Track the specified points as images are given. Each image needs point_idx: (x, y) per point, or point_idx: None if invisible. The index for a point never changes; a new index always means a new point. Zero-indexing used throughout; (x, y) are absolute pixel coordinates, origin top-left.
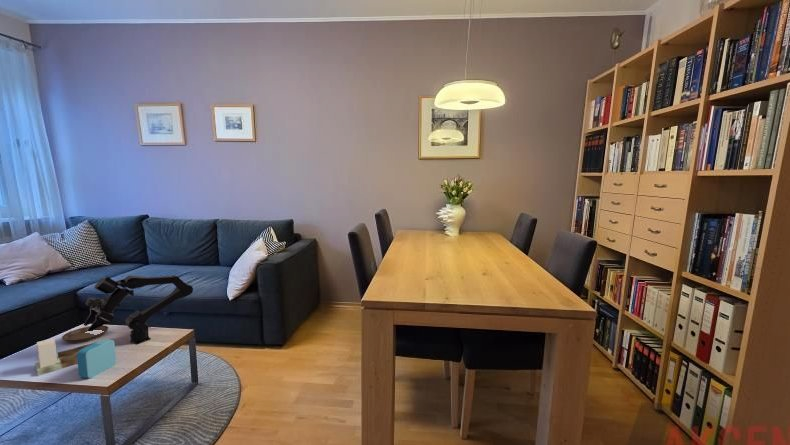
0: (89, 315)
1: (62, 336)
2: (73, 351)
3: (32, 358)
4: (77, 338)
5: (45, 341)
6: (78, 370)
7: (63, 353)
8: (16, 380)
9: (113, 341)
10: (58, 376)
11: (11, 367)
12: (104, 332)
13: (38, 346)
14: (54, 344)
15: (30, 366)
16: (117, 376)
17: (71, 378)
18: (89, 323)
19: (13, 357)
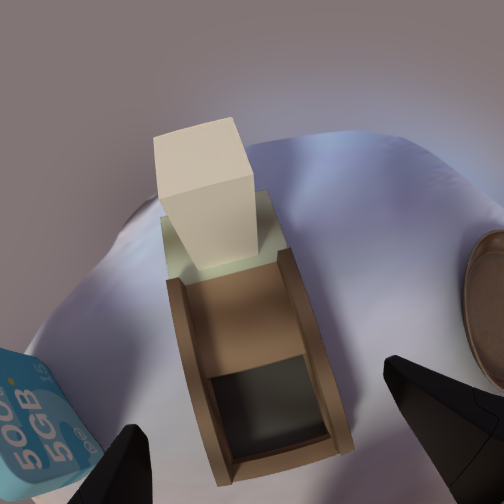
0: (490, 408)
1: (502, 230)
2: (297, 317)
3: (371, 178)
4: (498, 285)
5: (208, 149)
6: (17, 353)
7: (284, 275)
8: None
9: (4, 497)
10: (106, 295)
11: (317, 142)
12: (501, 389)
13: (154, 142)
14: (166, 208)
15: (290, 185)
16: None
17: (60, 337)
18: (400, 410)
19: (401, 137)
